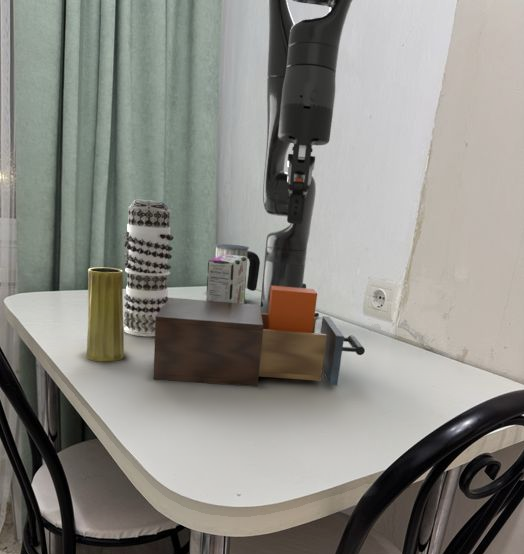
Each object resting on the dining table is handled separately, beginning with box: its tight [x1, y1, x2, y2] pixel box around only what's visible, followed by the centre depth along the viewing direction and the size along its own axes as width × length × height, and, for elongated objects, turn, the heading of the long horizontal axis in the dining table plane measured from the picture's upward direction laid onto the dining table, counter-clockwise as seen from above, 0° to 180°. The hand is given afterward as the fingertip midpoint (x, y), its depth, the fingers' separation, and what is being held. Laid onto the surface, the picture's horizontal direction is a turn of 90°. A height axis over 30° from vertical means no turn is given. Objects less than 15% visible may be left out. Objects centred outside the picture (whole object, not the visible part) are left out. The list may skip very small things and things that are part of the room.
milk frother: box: [214, 243, 261, 303], centre depth 139 cm, size 14×16×15 cm
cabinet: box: [153, 297, 263, 387], centre depth 81 cm, size 16×15×10 cm
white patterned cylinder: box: [123, 199, 174, 337], centre depth 97 cm, size 9×9×25 cm
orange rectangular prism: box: [267, 286, 318, 333], centre depth 81 cm, size 7×4×12 cm, turn 92°
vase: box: [85, 267, 126, 363], centre depth 81 cm, size 6×6×14 cm
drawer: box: [259, 313, 366, 386], centre depth 82 cm, size 19×13×8 cm
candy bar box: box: [205, 255, 248, 304], centre depth 95 cm, size 11×5×16 cm, turn 168°
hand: (294, 222), depth 77 cm, fingers open, 8 cm apart
